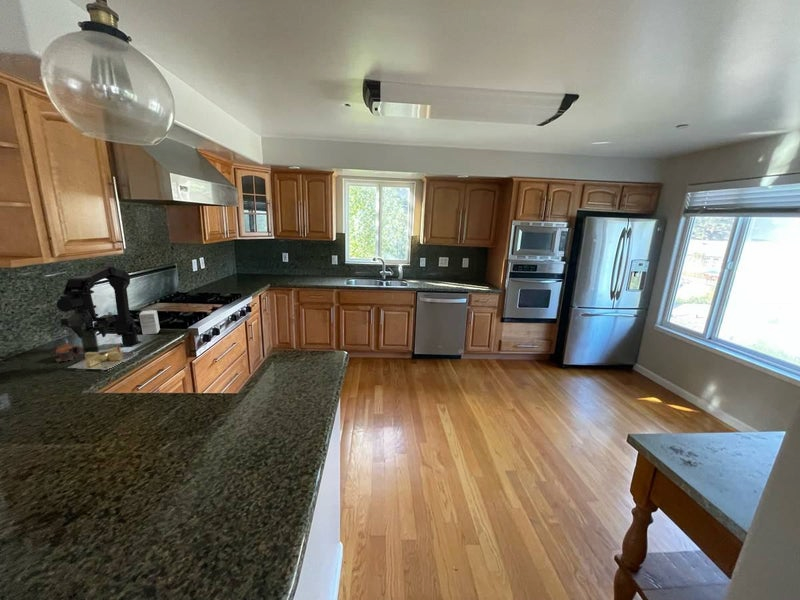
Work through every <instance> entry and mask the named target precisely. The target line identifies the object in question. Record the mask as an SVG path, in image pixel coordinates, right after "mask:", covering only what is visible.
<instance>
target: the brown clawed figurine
mask: <svg viewBox="0 0 800 600" xmlns="http://www.w3.org/2000/svg"><path fill="white" fill-rule="evenodd" d="M51 350H52V351H51V352H50V356H53V355H58V356H59V357H58V358H55V361H64V362H69V361H68V360H70V361H73V360H74V358H77V357H79V355H81V354H82V352H83V347H82V346H79V345H73V343H72V344H71V343H70V344H63V345H59V346H55V347H52V348H51ZM72 359H73V360H72Z"/></svg>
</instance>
